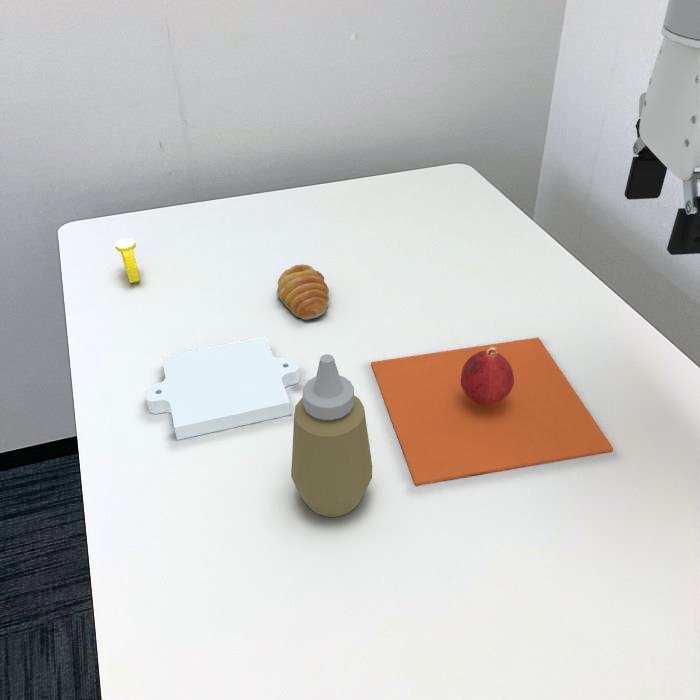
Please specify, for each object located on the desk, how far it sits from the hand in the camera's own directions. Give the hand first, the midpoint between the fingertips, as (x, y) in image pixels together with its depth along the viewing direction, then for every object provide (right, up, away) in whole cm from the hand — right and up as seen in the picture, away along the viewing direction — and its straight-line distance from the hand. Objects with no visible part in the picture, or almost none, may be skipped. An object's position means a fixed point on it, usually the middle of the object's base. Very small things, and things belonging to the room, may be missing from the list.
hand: (662, 223), depth 65 cm
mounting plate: (-42, -16, +23) cm, 51 cm away
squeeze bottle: (-29, -26, +11) cm, 40 cm away
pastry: (-33, -4, +38) cm, 51 cm away
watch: (-59, -1, +43) cm, 73 cm away
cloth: (-12, -17, +21) cm, 30 cm away
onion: (-12, -17, +20) cm, 29 cm away
